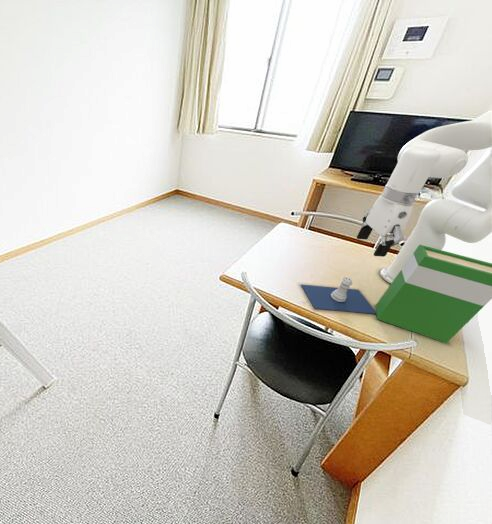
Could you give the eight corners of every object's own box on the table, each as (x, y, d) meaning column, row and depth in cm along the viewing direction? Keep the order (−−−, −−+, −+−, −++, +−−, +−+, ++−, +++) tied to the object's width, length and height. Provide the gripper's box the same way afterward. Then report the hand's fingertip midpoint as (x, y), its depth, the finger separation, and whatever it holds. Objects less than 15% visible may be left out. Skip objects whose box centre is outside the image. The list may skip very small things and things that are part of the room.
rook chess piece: (331, 300, 101) (341, 282, 96) (329, 292, 104) (339, 274, 100) (346, 304, 100) (357, 285, 95) (343, 296, 103) (354, 277, 99)
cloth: (357, 290, 107) (358, 289, 107) (377, 314, 97) (377, 313, 97) (301, 285, 107) (301, 284, 107) (314, 308, 98) (314, 307, 97)
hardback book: (440, 327, 94) (499, 265, 80) (446, 343, 88) (510, 279, 75) (375, 305, 100) (419, 244, 86) (377, 319, 95) (424, 256, 81)
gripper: (435, 209, 76) (399, 264, 86) (393, 183, 90) (367, 233, 100) (405, 207, 76) (372, 262, 86) (367, 182, 90) (344, 232, 100)
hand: (369, 246), depth 93 cm, fingers open, 9 cm apart
